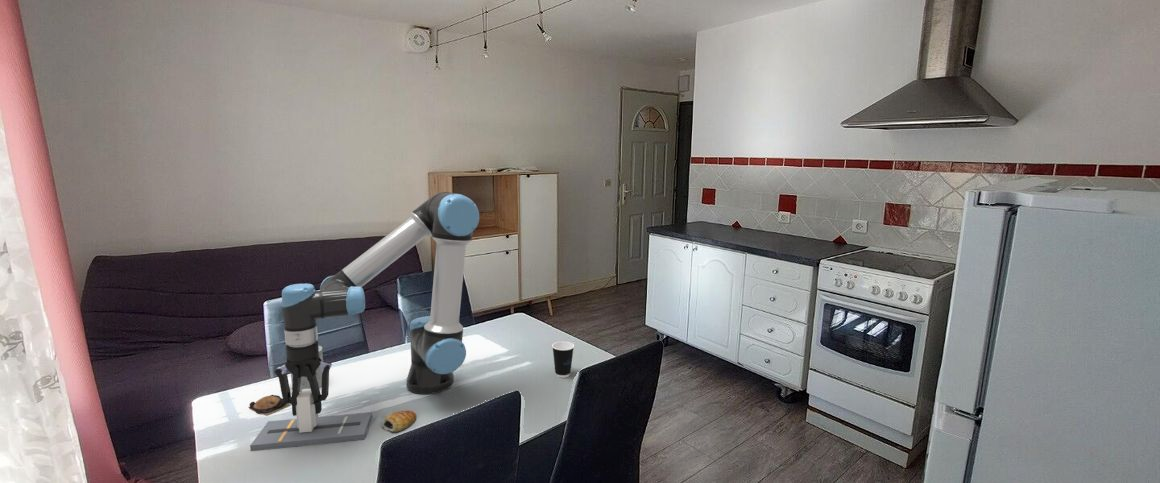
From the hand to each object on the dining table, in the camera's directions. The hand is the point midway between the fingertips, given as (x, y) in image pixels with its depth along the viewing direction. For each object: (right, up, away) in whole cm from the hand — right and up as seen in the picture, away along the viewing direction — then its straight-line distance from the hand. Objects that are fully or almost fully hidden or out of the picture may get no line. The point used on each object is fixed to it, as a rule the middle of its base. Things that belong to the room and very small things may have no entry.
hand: (308, 424), depth 133 cm
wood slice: (-20, -1, +15) cm, 25 cm away
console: (+1, -3, +1) cm, 3 cm away
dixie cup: (+68, +2, +40) cm, 79 cm away
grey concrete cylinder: (-16, +2, +28) cm, 32 cm away
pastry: (+22, -3, +6) cm, 23 cm away
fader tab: (0, -1, 0) cm, 1 cm away
